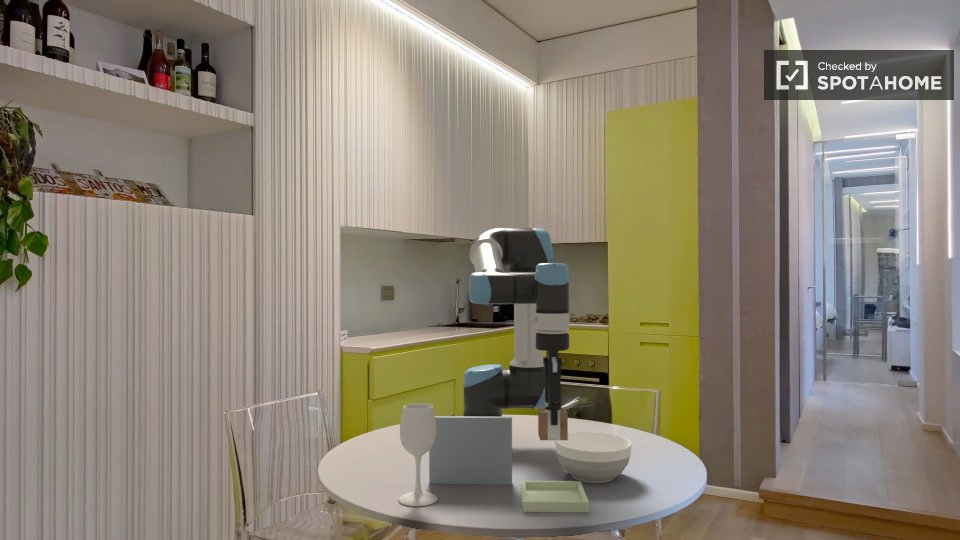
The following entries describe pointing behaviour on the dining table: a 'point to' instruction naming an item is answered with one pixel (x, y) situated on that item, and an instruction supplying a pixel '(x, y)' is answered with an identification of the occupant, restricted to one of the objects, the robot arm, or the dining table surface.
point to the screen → (471, 450)
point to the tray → (553, 496)
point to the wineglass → (418, 446)
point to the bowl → (593, 456)
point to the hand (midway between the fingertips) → (552, 435)
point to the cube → (544, 424)
